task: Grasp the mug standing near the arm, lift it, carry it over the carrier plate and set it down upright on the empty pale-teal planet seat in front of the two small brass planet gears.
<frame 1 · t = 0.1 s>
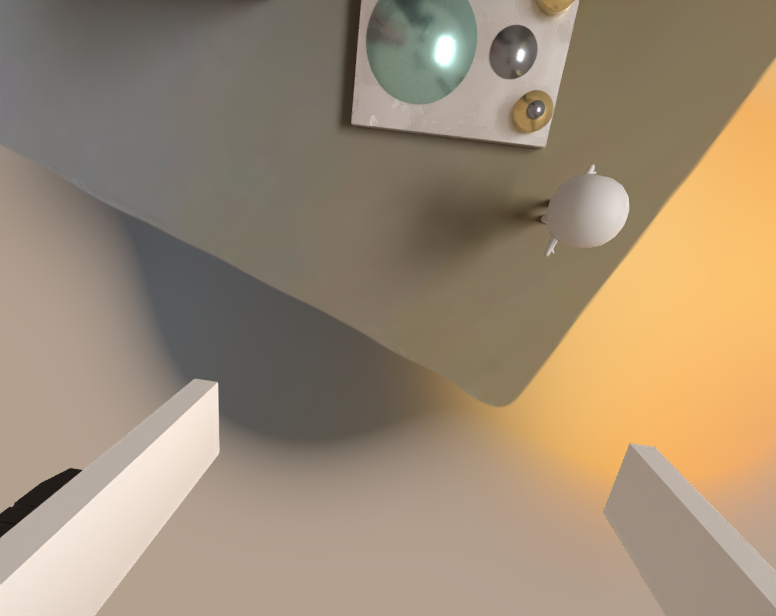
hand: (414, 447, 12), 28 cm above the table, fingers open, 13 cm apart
carrier: (459, 52, 32), on the table
figurine: (542, 209, 36), on the table
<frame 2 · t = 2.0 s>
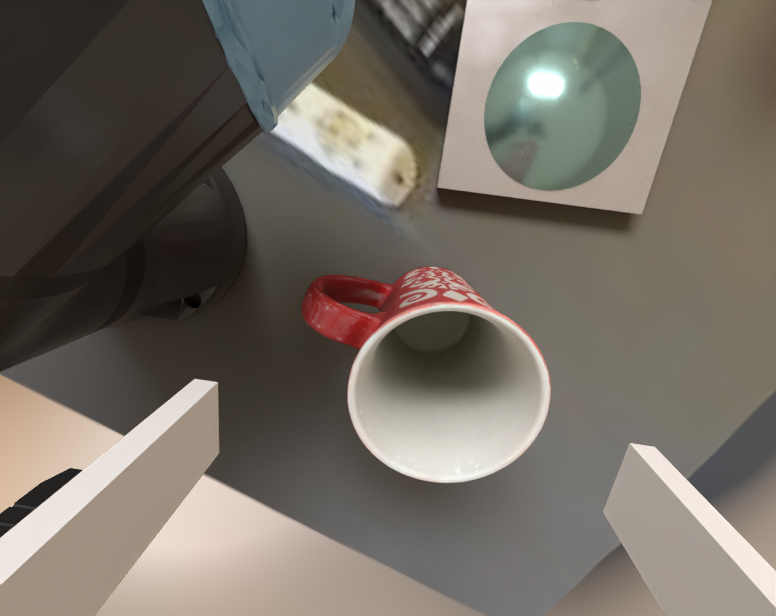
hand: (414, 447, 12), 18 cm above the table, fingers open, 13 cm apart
carrier: (567, 55, 23), on the table
mug: (412, 298, 29), on the table
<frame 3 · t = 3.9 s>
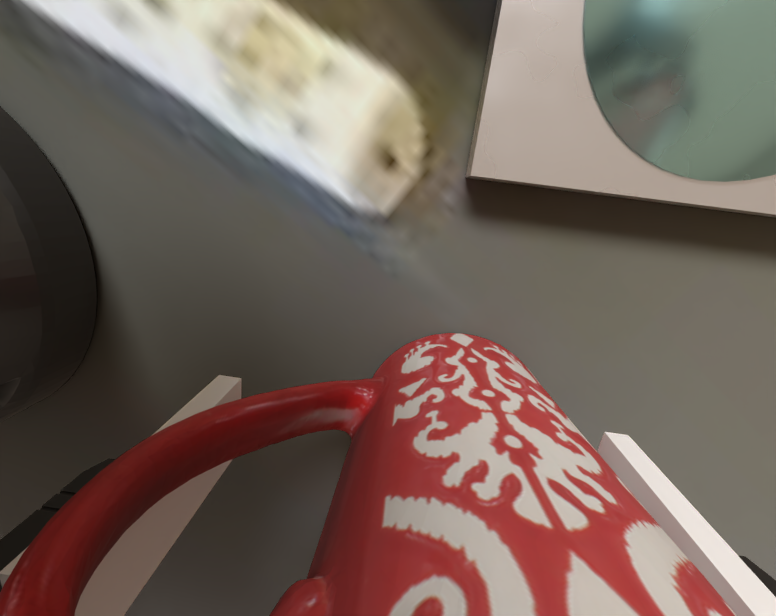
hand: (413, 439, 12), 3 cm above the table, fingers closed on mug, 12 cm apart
mug: (417, 386, 15), on the table, touching gripper
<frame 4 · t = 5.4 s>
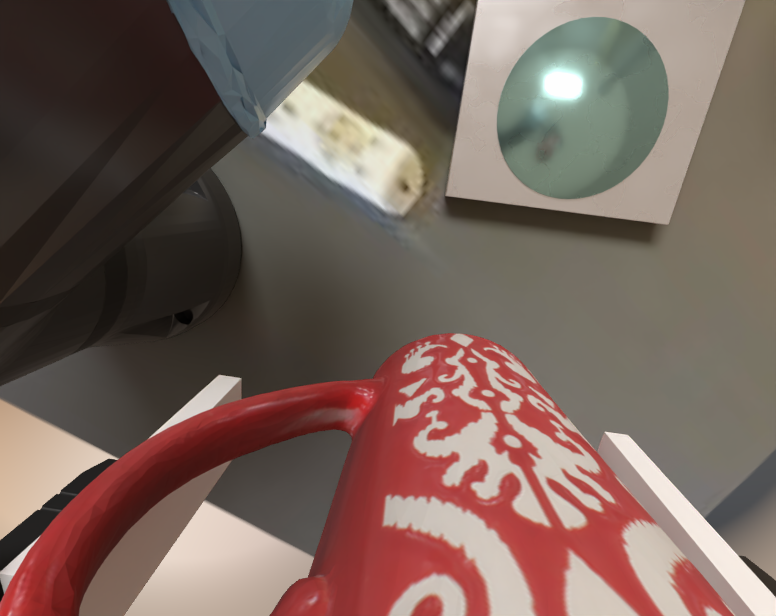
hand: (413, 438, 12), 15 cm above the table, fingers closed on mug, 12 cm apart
carrier: (587, 54, 21), on the table
mug: (417, 387, 15), point 12 cm above the table, touching gripper
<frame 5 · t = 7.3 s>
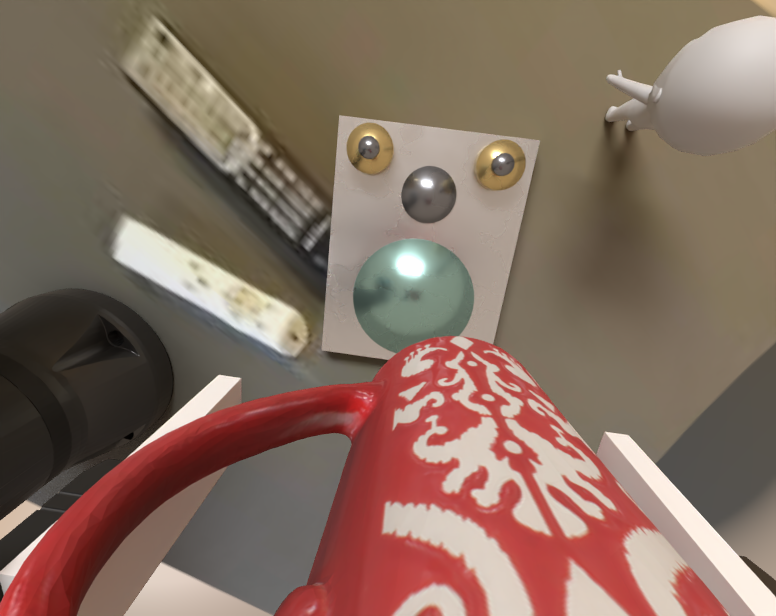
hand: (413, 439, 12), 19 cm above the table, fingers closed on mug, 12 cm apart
carrier: (419, 254, 29), on the table
figurine: (614, 129, 25), on the table
mug: (417, 389, 15), point 15 cm above the table, touching gripper
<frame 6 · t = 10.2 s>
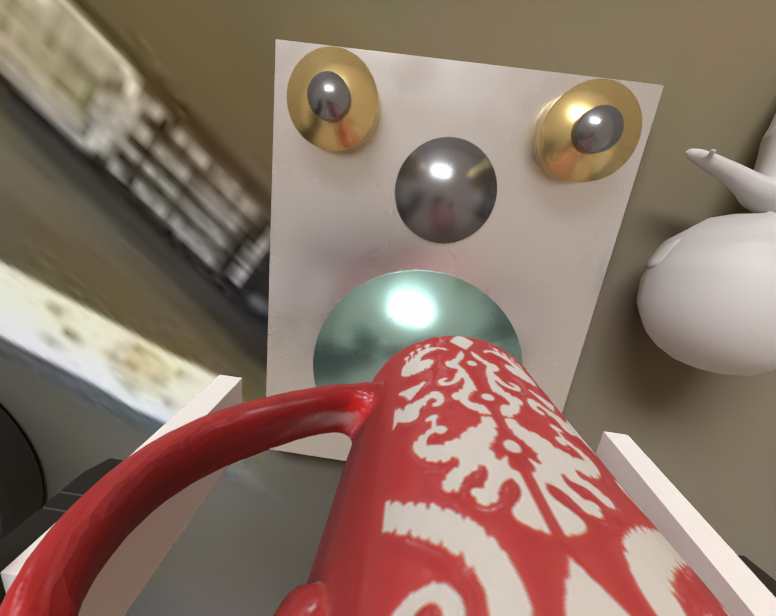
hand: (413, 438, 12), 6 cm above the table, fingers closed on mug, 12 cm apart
carrier: (426, 293, 17), on the table
mug: (417, 389, 15), point 3 cm above the table, touching gripper
when the fingers open (6 cm above the table, at t = 10.5 s): mug drops 1 cm, resting on carrier.
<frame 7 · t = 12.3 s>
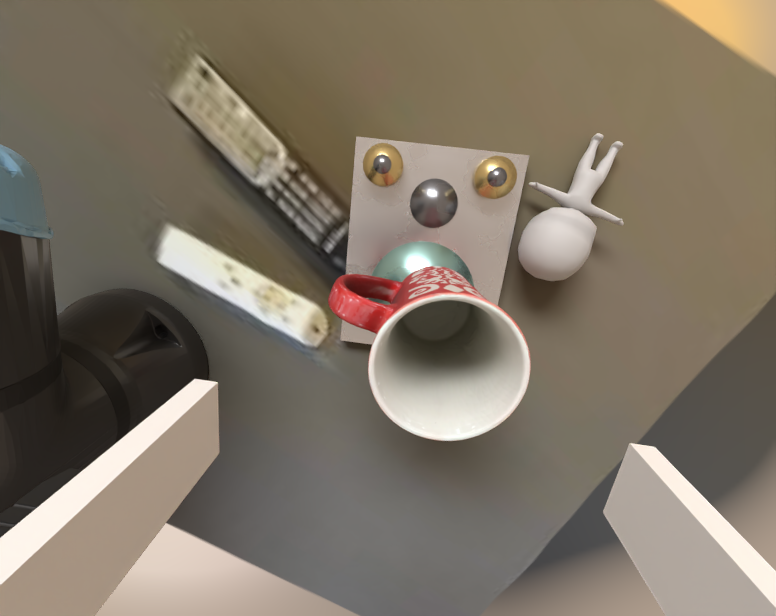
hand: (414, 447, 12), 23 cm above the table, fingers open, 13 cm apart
carrier: (425, 254, 33), on the table
figurine: (604, 142, 29), on the table
mug: (418, 294, 33), point 1 cm above the table, touching carrier
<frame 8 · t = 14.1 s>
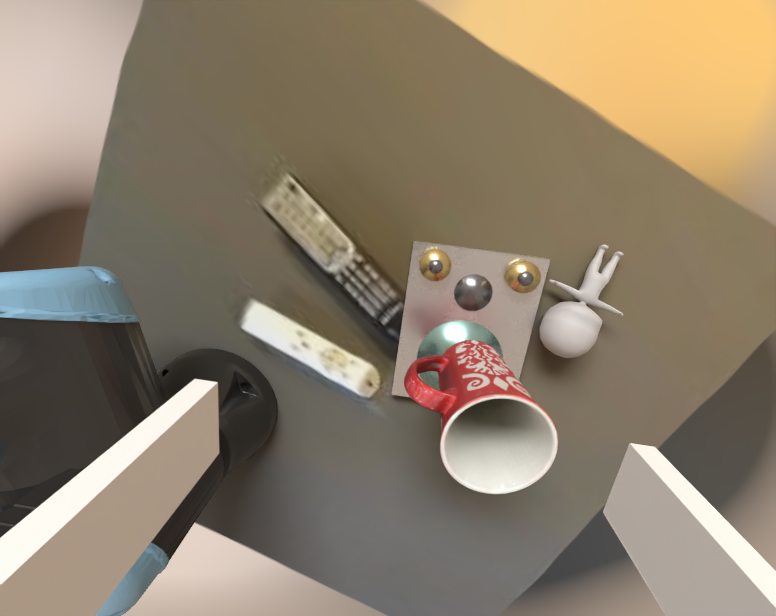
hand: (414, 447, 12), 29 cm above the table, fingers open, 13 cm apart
carrier: (463, 328, 40), on the table
figurine: (609, 249, 37), on the table
mug: (457, 360, 40), point 1 cm above the table, touching carrier
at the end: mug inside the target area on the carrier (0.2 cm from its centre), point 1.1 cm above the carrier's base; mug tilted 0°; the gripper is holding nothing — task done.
